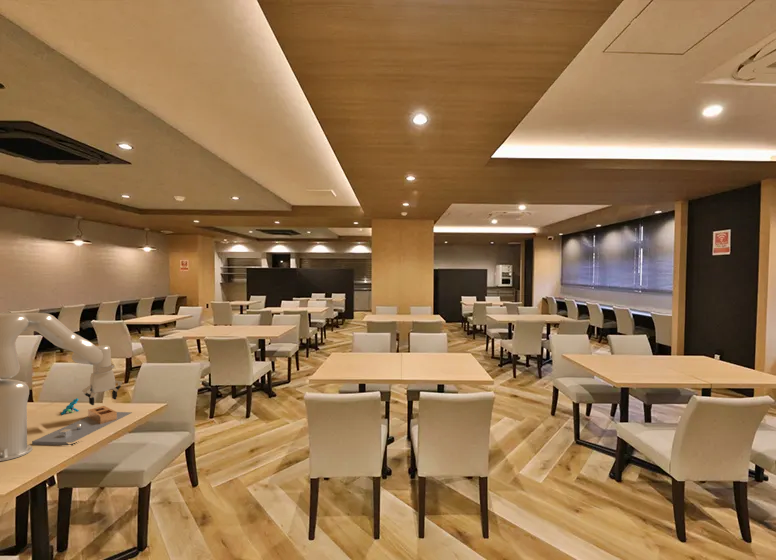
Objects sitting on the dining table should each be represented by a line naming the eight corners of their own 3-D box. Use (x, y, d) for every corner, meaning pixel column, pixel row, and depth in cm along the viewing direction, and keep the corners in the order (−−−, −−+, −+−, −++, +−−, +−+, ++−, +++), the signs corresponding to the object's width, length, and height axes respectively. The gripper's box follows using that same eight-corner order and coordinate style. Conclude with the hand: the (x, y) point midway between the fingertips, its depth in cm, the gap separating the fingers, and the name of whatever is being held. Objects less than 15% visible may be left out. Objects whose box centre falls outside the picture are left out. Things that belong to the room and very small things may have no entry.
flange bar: (116, 419, 190) (116, 411, 190) (100, 424, 184) (100, 416, 184) (104, 413, 198) (104, 405, 198) (88, 417, 193) (88, 409, 192)
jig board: (72, 445, 164) (72, 437, 164) (32, 444, 165) (32, 436, 165) (132, 415, 200) (132, 408, 199) (99, 414, 201) (99, 407, 201)
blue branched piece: (61, 408, 204) (77, 394, 207) (71, 414, 207) (87, 400, 210) (57, 418, 195) (74, 403, 198) (67, 423, 198) (84, 408, 201)
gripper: (118, 364, 200) (119, 395, 201) (78, 372, 186) (80, 405, 186) (124, 366, 196) (125, 398, 197) (84, 374, 182) (85, 408, 182)
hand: (103, 401), depth 192 cm, fingers open, 9 cm apart
